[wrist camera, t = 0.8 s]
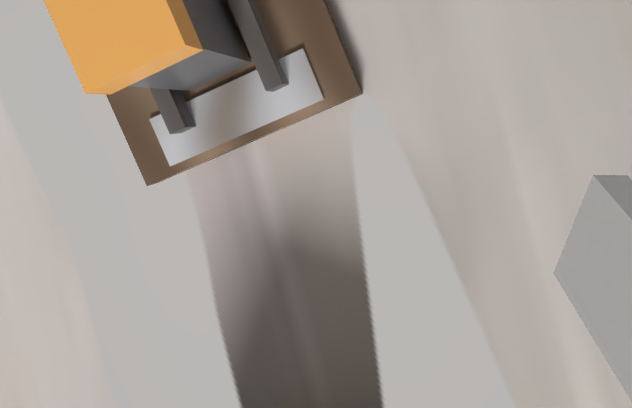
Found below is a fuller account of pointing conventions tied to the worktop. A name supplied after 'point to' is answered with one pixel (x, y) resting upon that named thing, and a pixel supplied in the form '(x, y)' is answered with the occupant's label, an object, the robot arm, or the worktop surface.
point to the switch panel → (242, 90)
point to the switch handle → (148, 42)
